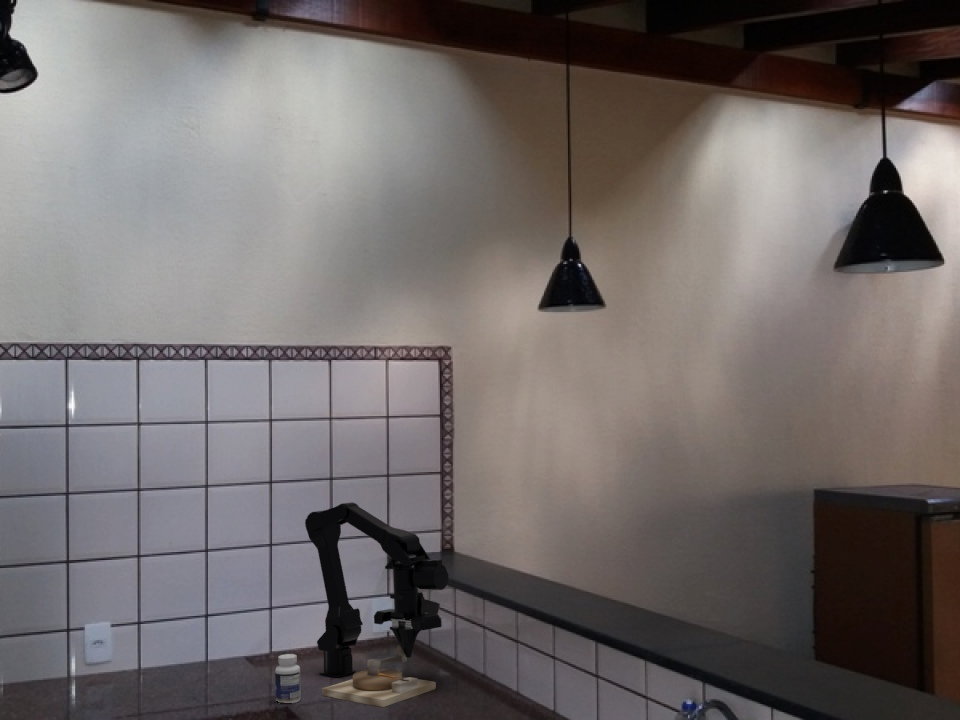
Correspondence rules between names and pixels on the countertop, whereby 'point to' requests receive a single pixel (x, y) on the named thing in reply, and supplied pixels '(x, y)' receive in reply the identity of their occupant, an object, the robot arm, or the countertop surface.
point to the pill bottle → (287, 679)
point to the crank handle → (379, 673)
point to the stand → (380, 691)
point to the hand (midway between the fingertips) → (408, 657)
